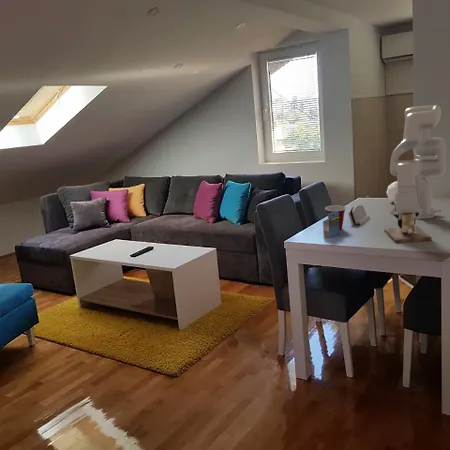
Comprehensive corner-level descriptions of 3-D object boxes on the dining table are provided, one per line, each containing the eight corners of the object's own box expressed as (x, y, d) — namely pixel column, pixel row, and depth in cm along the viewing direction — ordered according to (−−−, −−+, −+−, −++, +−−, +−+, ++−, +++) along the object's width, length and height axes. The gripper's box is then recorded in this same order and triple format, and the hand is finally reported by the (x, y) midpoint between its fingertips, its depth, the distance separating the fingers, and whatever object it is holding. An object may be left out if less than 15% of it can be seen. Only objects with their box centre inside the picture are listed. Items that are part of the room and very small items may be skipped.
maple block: (409, 227, 238) (409, 211, 237) (414, 231, 230) (414, 214, 229) (399, 228, 239) (398, 212, 237) (403, 232, 231) (403, 215, 229)
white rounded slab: (360, 225, 264) (354, 208, 264) (352, 227, 267) (346, 210, 267) (370, 218, 277) (364, 201, 277) (363, 220, 280) (356, 204, 280)
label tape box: (333, 233, 254) (332, 209, 251) (340, 233, 251) (339, 210, 248) (323, 237, 248) (321, 213, 246) (330, 238, 245) (328, 214, 243)
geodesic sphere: (409, 195, 300) (408, 175, 305) (385, 196, 305) (385, 177, 310) (409, 205, 312) (409, 186, 317) (386, 206, 317) (387, 187, 322)
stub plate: (417, 229, 245) (417, 219, 244) (431, 240, 224) (431, 229, 223) (384, 231, 247) (384, 221, 246) (395, 243, 226) (395, 232, 224)
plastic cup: (332, 232, 254) (331, 210, 252) (322, 229, 265) (321, 207, 262) (351, 229, 257) (350, 207, 255) (340, 225, 267) (339, 204, 265)
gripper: (422, 186, 233) (422, 223, 237) (385, 189, 235) (386, 226, 239) (427, 188, 226) (427, 227, 230) (389, 191, 228) (390, 230, 232)
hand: (406, 226), depth 234 cm, fingers closed on maple block, 5 cm apart
